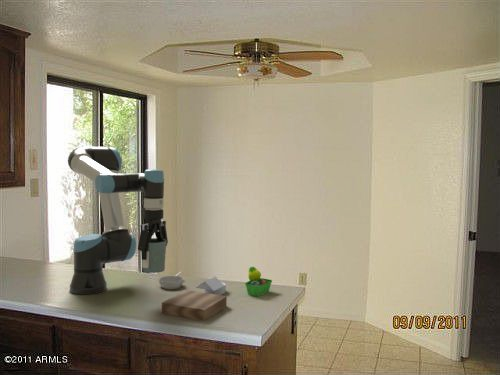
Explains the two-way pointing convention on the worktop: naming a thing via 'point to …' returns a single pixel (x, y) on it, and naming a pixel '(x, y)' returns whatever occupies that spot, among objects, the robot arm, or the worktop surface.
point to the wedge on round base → (213, 286)
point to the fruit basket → (257, 283)
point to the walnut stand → (194, 305)
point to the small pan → (171, 281)
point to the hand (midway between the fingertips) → (153, 264)
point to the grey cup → (156, 256)
